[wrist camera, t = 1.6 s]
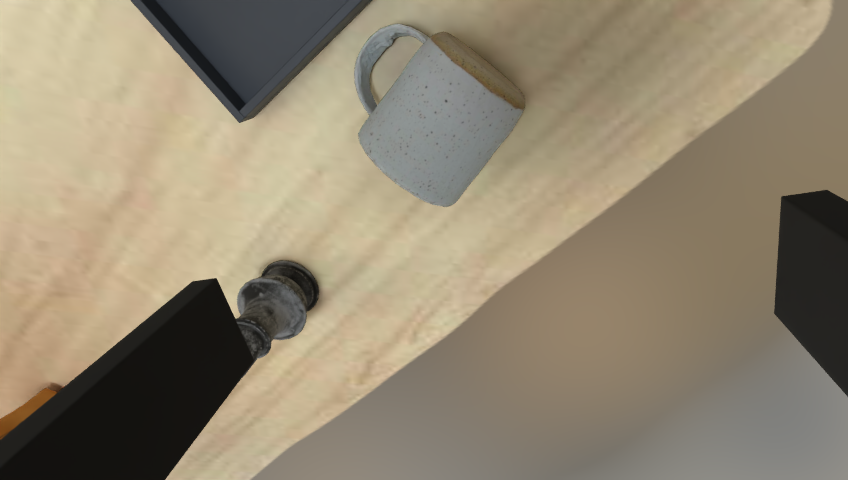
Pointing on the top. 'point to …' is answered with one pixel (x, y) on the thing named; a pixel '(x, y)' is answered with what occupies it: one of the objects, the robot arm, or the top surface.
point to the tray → (248, 42)
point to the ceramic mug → (435, 114)
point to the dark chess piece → (275, 305)
